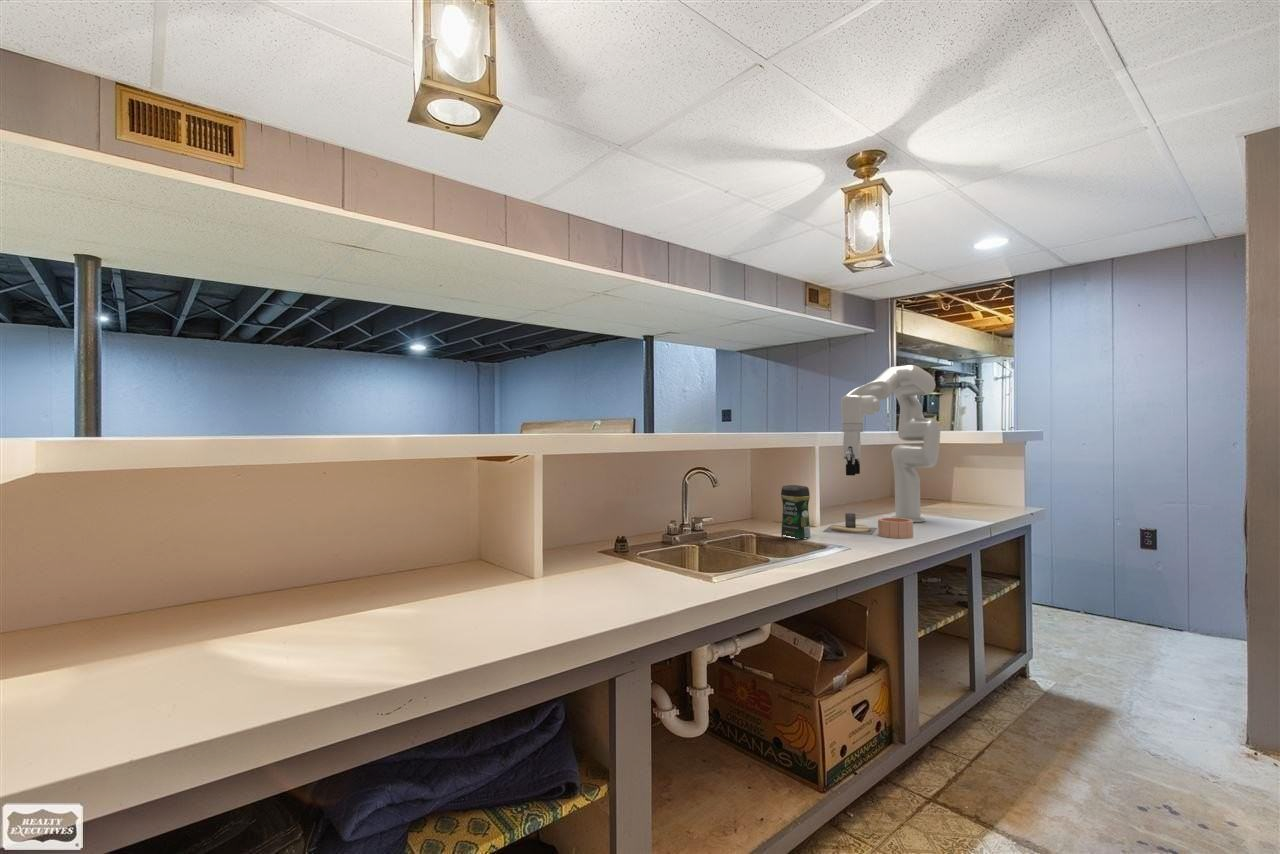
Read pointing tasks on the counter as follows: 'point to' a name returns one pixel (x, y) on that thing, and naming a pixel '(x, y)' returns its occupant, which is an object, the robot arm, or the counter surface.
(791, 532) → the coffee jar
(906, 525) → the terracotta bowl
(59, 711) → the counter surface
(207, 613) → the counter surface
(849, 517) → the oak lid
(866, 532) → the rubber mat
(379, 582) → the counter surface
